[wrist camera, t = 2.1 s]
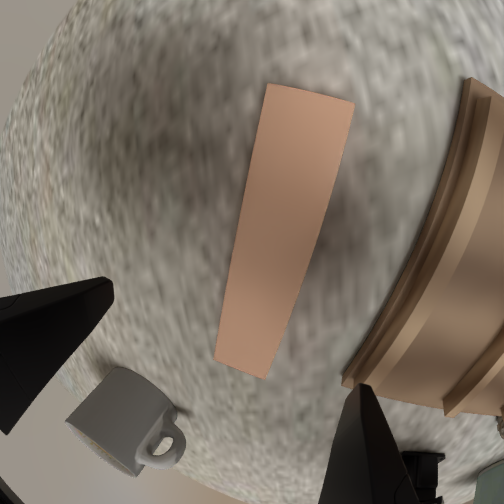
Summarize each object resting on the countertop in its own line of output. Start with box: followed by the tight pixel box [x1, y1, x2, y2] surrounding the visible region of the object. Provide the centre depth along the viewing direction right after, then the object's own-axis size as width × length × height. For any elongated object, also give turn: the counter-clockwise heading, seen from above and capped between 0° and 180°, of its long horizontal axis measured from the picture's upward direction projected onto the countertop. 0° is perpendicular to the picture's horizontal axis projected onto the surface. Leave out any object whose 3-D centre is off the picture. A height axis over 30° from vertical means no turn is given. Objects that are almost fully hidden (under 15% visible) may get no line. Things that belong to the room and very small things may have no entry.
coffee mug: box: [65, 367, 186, 478], centre depth 24 cm, size 13×10×10 cm
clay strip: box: [213, 83, 355, 380], centre depth 14 cm, size 16×4×3 cm, turn 168°
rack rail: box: [353, 96, 504, 391], centre depth 11 cm, size 18×1×2 cm, turn 168°
